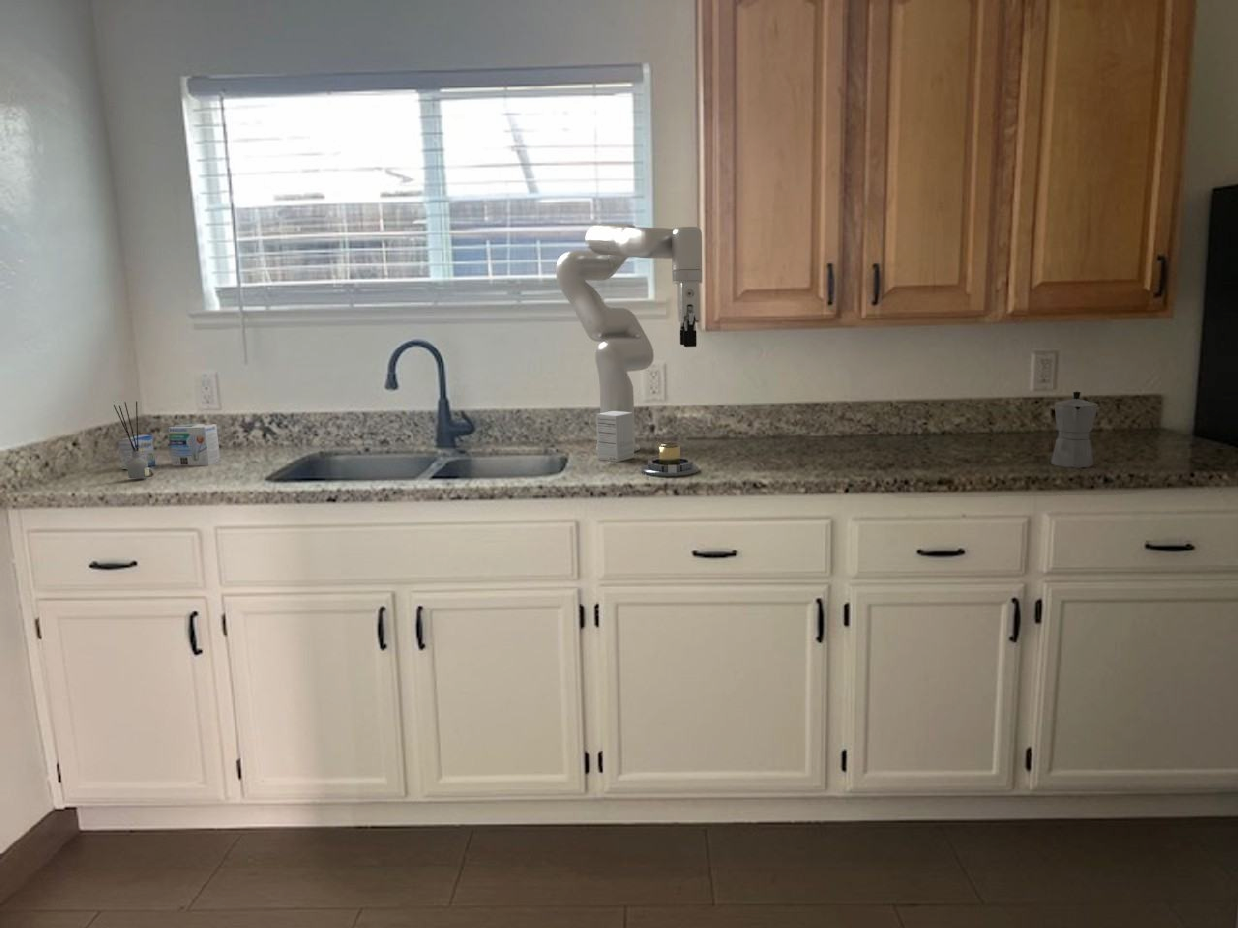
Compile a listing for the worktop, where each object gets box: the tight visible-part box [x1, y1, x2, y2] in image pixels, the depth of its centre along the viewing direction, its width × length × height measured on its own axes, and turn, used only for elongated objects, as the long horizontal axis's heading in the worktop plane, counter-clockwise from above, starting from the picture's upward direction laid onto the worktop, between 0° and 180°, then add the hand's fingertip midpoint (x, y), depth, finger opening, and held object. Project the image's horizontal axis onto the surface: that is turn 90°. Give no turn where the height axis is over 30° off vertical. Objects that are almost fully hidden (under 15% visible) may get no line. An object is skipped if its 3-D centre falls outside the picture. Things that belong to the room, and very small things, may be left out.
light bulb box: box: [168, 423, 221, 467], centre depth 246 cm, size 11×7×11 cm, turn 87°
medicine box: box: [117, 434, 156, 469], centre depth 242 cm, size 8×4×9 cm, turn 170°
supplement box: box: [595, 411, 635, 463], centre depth 237 cm, size 7×7×13 cm
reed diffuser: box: [113, 401, 156, 479], centre depth 224 cm, size 10×7×20 cm
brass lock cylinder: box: [658, 441, 681, 465], centre depth 219 cm, size 5×5×6 cm
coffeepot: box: [1050, 391, 1099, 469], centre depth 216 cm, size 15×9×18 cm, turn 157°
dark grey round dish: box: [641, 457, 699, 478], centre depth 219 cm, size 14×14×3 cm
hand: (688, 346), depth 226 cm, fingers open, 9 cm apart
